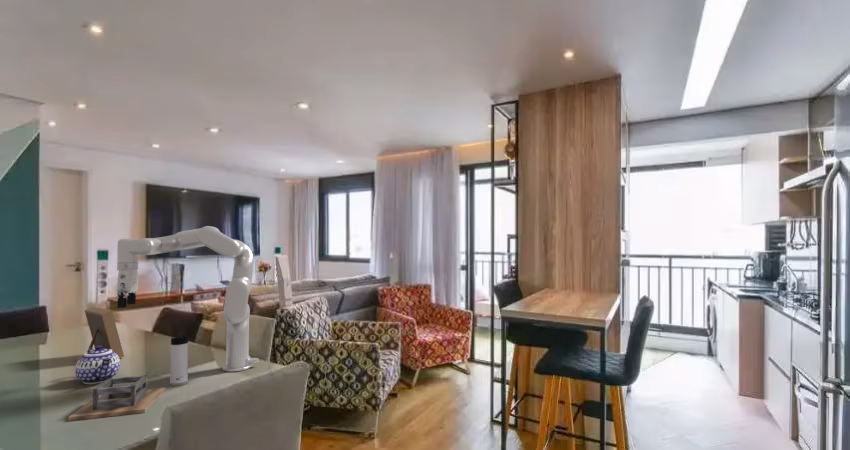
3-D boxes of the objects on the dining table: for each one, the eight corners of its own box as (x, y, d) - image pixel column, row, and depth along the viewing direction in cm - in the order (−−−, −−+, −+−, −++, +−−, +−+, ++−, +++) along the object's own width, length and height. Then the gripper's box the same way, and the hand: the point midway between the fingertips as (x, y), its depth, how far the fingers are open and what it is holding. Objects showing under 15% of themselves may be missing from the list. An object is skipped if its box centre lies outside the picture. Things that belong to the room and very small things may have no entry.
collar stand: (165, 390, 162) (165, 370, 162) (144, 412, 141) (145, 389, 141) (99, 396, 156) (100, 375, 156) (68, 421, 135) (68, 396, 135)
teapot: (68, 379, 177) (69, 344, 177) (110, 370, 188) (111, 338, 189) (82, 391, 161) (83, 353, 162) (128, 381, 173) (128, 346, 173)
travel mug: (180, 386, 166) (180, 337, 167) (166, 385, 167) (167, 336, 168) (191, 381, 172) (192, 333, 173) (178, 380, 173) (179, 333, 174)
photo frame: (106, 352, 220) (107, 305, 221) (124, 358, 208) (125, 309, 209) (71, 359, 207) (72, 309, 208) (88, 365, 195) (89, 313, 196)
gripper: (129, 267, 172) (128, 308, 172) (144, 265, 189) (144, 302, 188) (108, 268, 170) (107, 309, 169) (126, 265, 187) (125, 303, 186)
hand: (126, 305), depth 179 cm, fingers open, 9 cm apart
